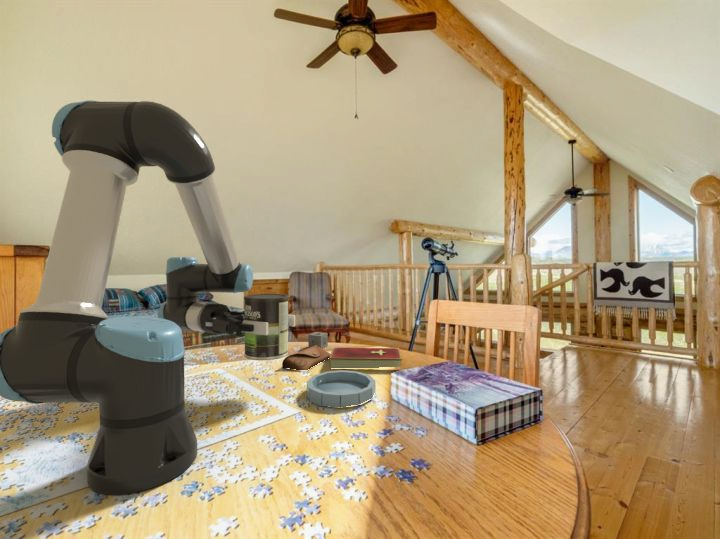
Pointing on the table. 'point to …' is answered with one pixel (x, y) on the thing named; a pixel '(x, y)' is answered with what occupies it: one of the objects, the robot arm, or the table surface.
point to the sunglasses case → (306, 358)
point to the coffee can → (276, 315)
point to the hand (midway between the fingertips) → (281, 324)
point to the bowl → (340, 388)
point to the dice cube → (318, 339)
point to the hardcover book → (364, 357)
